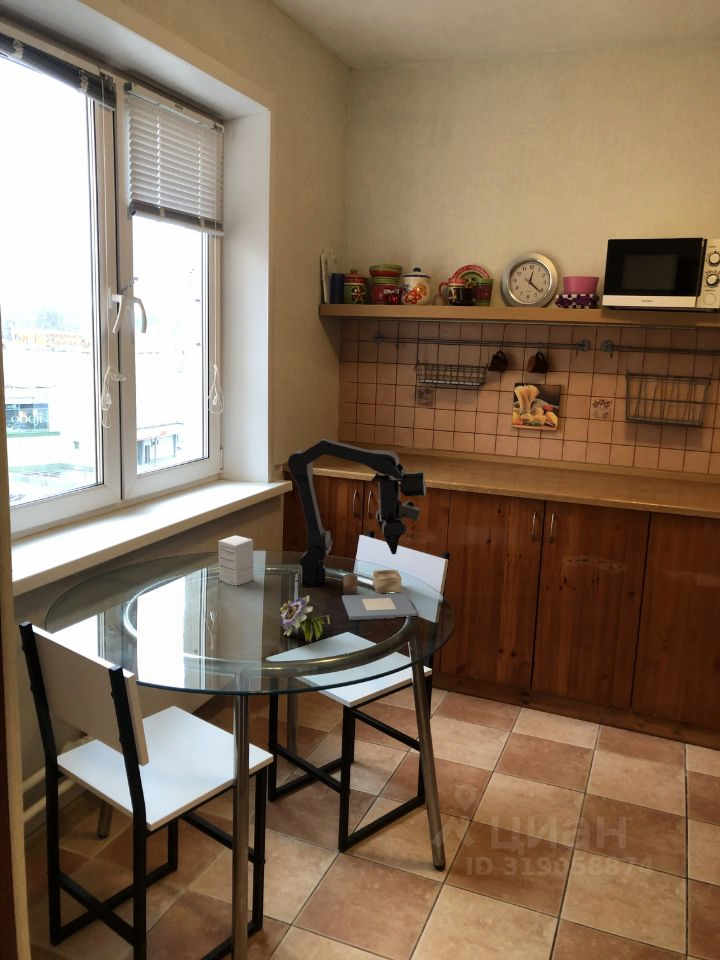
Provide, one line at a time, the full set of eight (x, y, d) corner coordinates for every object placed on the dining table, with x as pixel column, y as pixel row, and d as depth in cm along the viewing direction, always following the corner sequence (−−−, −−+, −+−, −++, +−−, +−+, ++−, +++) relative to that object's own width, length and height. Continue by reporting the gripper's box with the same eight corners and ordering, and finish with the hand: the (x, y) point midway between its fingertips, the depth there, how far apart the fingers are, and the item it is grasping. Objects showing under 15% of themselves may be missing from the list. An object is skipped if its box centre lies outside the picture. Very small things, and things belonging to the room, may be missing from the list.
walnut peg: (344, 595, 219) (344, 578, 218) (342, 590, 223) (342, 574, 222) (358, 595, 220) (358, 578, 219) (356, 590, 224) (356, 573, 223)
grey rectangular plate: (349, 619, 202) (350, 615, 202) (342, 598, 217) (342, 595, 216) (417, 617, 205) (417, 613, 205) (405, 596, 219) (405, 592, 219)
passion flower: (287, 655, 193) (269, 611, 196) (325, 639, 198) (307, 596, 201) (299, 647, 183) (280, 600, 186) (339, 630, 188) (319, 585, 191)
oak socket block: (376, 594, 221) (377, 578, 220) (372, 585, 228) (373, 570, 227) (400, 593, 222) (401, 577, 221) (396, 585, 229) (396, 569, 228)
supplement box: (236, 574, 234) (235, 534, 231) (254, 580, 230) (254, 539, 227) (218, 581, 228) (217, 540, 225) (236, 587, 224) (236, 545, 221)
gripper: (423, 501, 210) (425, 556, 213) (412, 487, 228) (414, 538, 231) (382, 504, 209) (385, 560, 212) (374, 490, 227) (377, 541, 230)
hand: (391, 549), depth 222 cm, fingers open, 9 cm apart
